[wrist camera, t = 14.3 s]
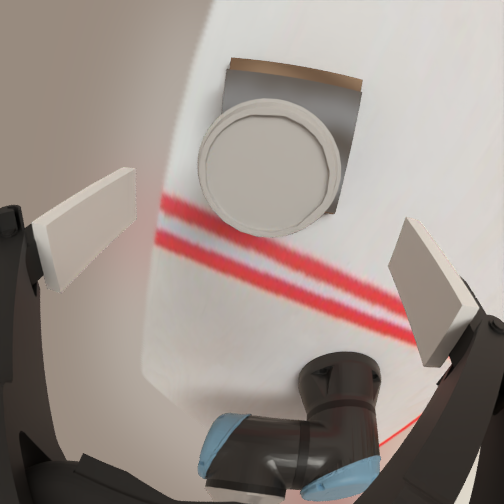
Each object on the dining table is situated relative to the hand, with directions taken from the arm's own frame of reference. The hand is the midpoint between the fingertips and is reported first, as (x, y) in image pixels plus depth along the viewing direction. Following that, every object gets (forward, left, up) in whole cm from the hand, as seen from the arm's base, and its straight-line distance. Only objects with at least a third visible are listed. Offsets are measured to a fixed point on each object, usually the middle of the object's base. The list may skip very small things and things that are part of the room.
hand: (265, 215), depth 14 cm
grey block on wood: (0, 0, -22) cm, 23 cm away
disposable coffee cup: (0, +1, -18) cm, 18 cm away
